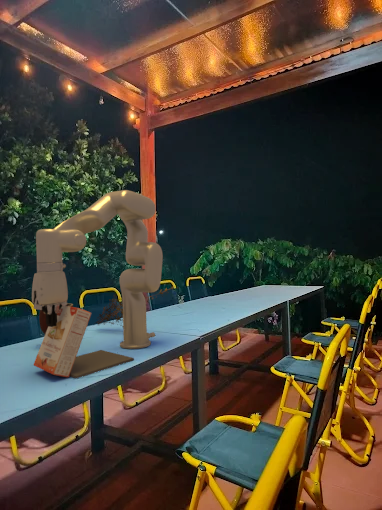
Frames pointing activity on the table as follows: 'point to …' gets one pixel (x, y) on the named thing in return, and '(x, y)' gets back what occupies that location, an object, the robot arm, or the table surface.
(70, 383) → the table surface
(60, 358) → the cracker box
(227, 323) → the table surface
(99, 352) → the mat
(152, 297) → the dried plant
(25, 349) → the table surface
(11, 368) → the table surface
